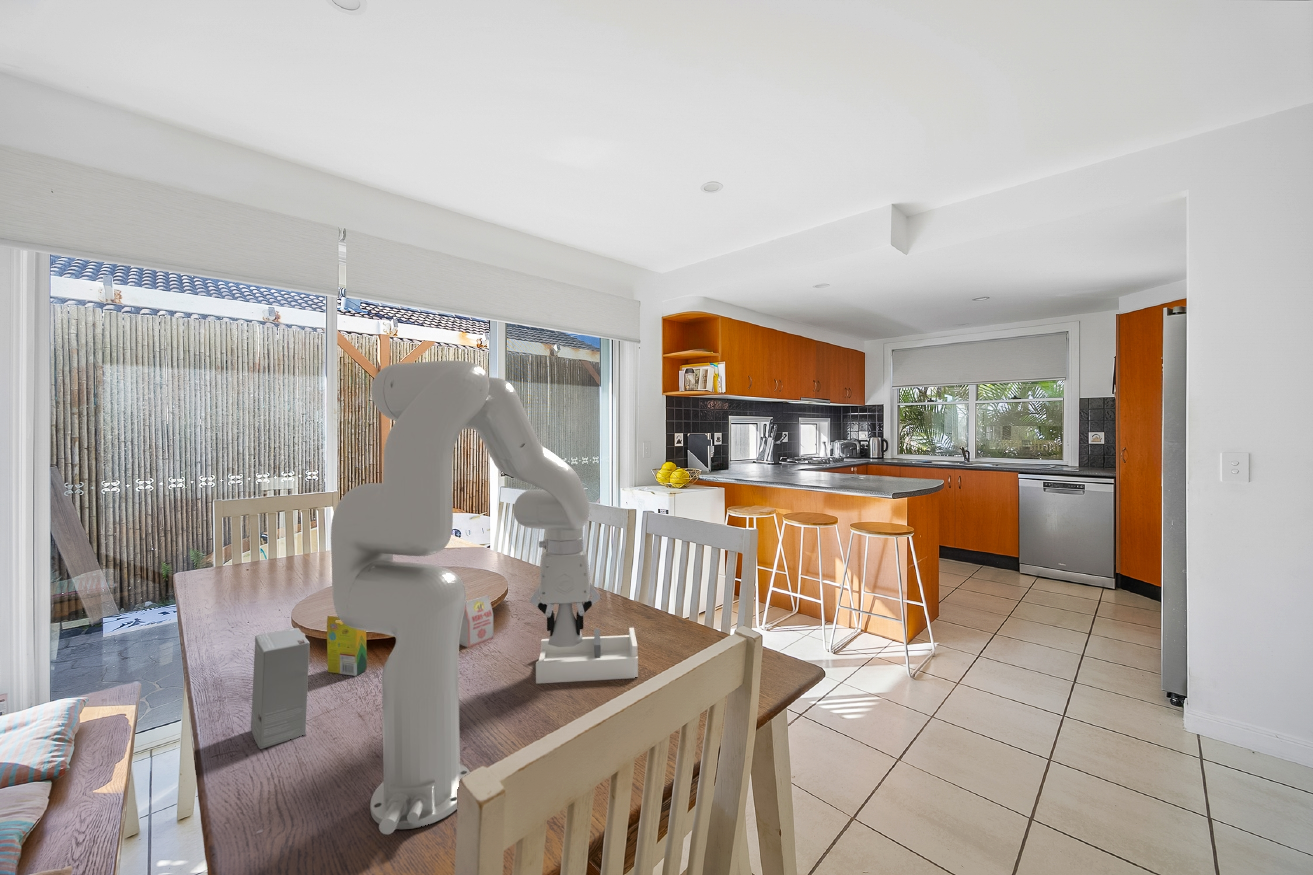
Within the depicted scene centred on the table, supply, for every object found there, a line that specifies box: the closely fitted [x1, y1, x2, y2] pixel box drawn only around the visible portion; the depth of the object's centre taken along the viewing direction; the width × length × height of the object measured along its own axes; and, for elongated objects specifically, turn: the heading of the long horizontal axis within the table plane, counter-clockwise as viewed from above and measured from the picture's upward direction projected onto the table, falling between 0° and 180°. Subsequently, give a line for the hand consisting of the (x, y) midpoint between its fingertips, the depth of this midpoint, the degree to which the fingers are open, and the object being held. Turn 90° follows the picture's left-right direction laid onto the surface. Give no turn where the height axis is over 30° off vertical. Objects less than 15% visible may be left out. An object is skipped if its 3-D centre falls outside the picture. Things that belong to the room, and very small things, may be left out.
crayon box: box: [326, 615, 368, 677], centre depth 111 cm, size 7×3×12 cm, turn 74°
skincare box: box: [250, 627, 311, 750], centre depth 89 cm, size 8×7×16 cm
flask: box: [548, 603, 583, 647], centre depth 112 cm, size 7×7×10 cm
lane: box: [535, 627, 639, 685], centre depth 113 cm, size 12×20×6 cm, turn 97°
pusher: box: [593, 628, 601, 658], centre depth 113 cm, size 9×1×5 cm, turn 7°
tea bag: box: [459, 594, 494, 649], centre depth 127 cm, size 4×7×10 cm, turn 143°
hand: (565, 632), depth 112 cm, fingers closed on flask, 4 cm apart
